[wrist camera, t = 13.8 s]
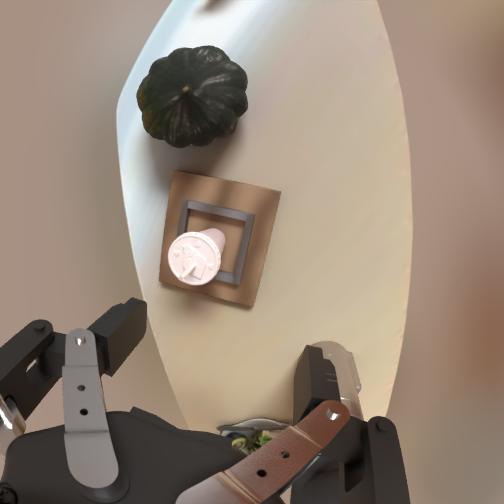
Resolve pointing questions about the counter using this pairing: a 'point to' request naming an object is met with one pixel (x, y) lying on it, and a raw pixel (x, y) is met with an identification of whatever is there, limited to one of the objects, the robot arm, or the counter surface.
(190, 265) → the smoothie
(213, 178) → the base board
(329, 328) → the counter surface
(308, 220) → the counter surface
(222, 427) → the salad plate
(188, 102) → the squash
